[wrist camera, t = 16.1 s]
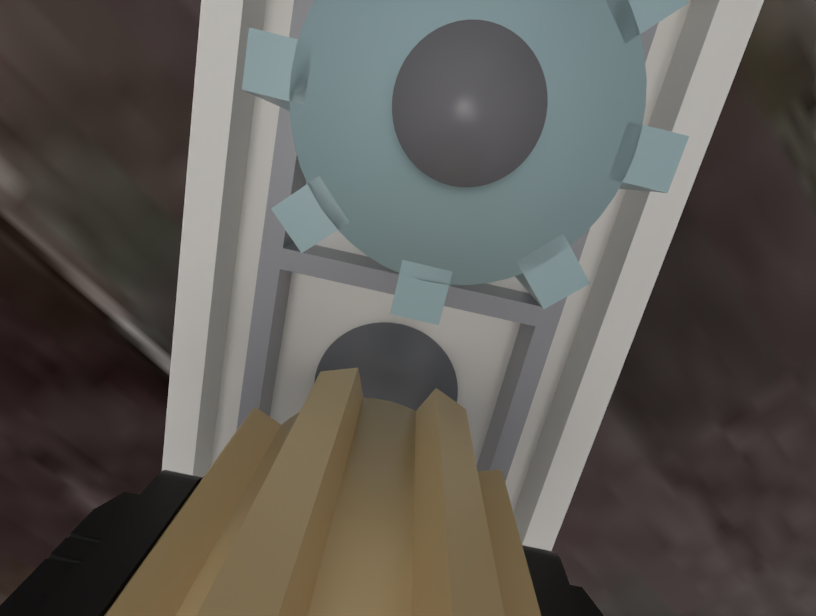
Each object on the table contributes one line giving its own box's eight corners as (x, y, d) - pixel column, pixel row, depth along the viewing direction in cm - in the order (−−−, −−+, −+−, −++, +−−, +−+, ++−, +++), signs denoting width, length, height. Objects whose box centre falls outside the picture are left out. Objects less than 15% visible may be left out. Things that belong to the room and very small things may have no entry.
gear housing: (259, -142, 12) (219, -217, 10) (722, -25, 13) (791, -70, 10) (192, 479, 18) (157, 526, 16) (517, 547, 18) (530, 604, 16)
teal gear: (587, 49, 13) (814, -123, 5) (518, 273, 14) (618, 378, 7) (357, -9, 12) (261, -271, 5) (316, 225, 14) (203, 283, 7)
